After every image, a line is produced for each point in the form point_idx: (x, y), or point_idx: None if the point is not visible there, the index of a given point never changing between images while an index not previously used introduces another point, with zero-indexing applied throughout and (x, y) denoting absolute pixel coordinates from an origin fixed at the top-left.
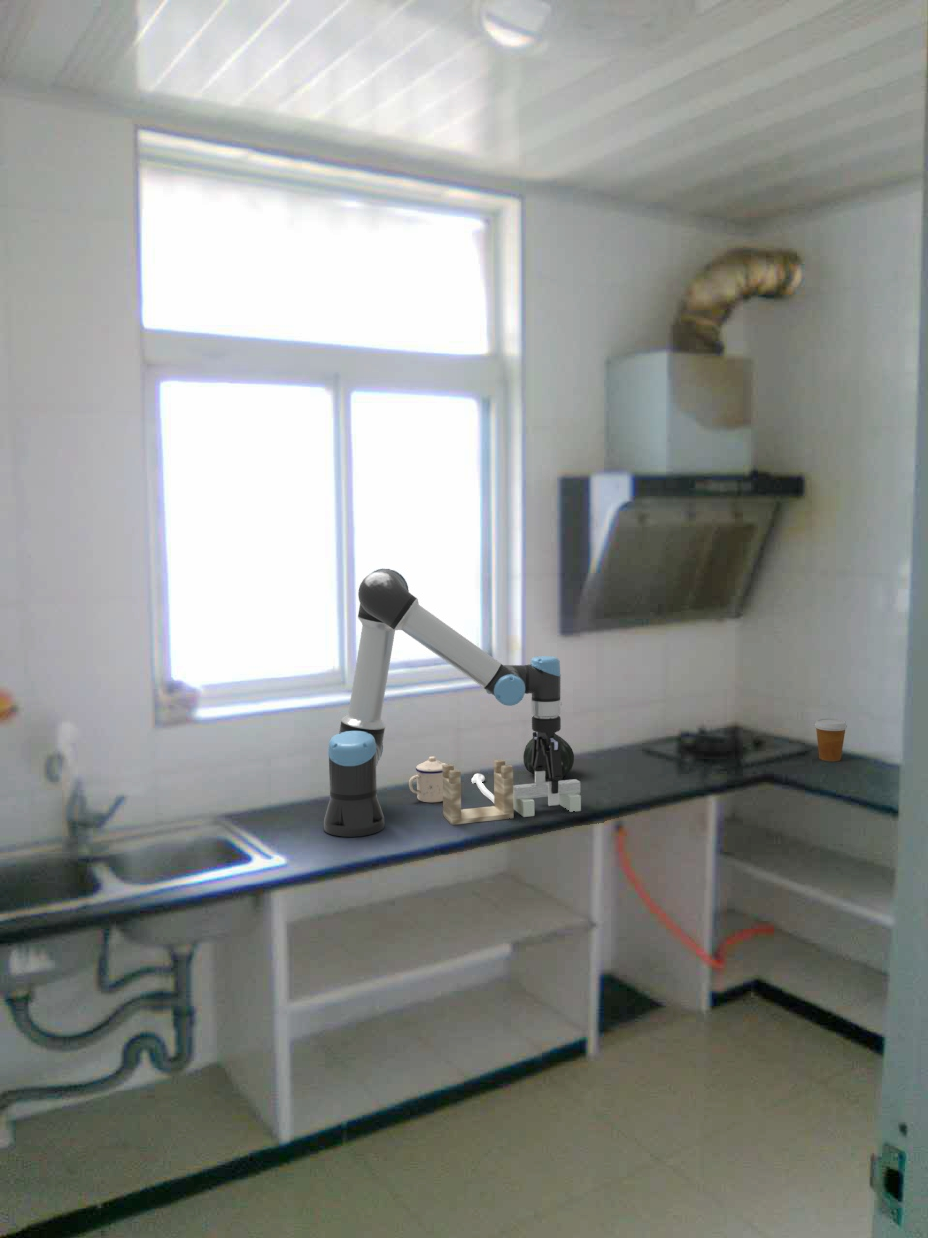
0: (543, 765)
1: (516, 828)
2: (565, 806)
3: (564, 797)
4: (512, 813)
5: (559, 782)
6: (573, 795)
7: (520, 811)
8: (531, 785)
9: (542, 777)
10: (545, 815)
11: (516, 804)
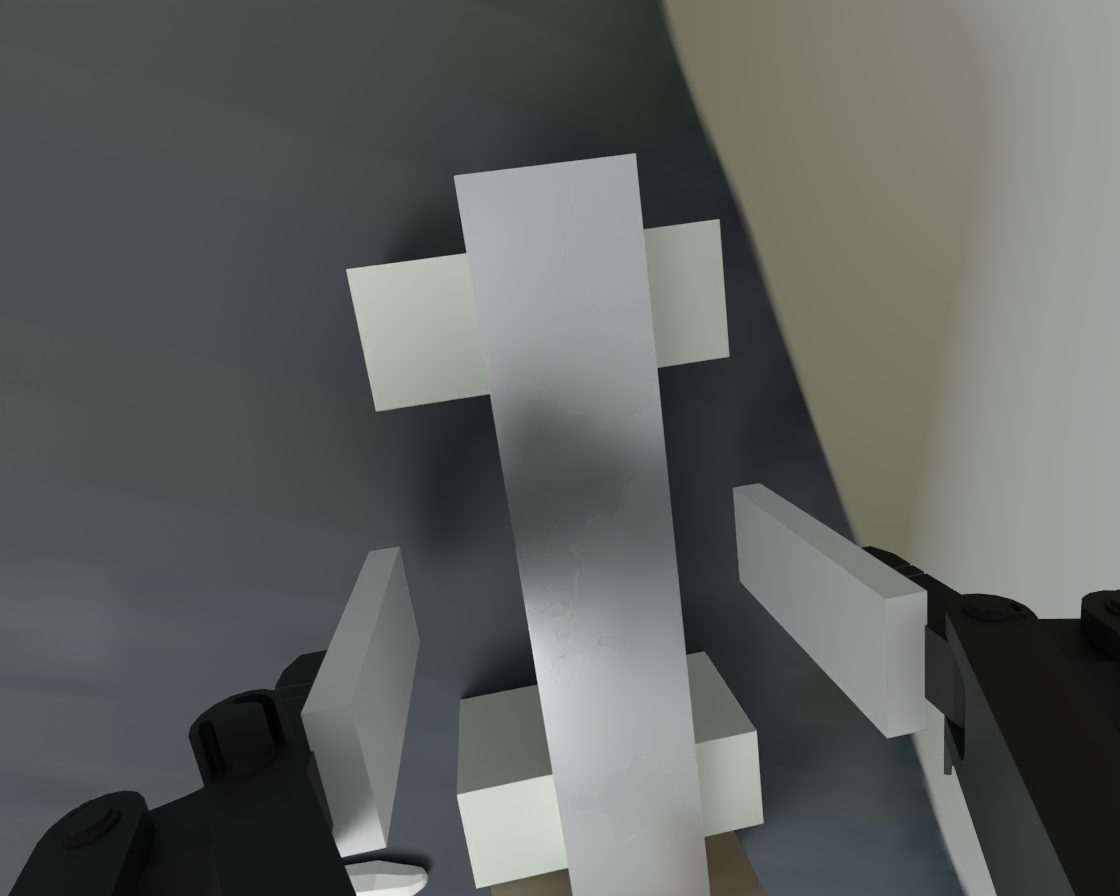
0: (319, 811)
1: (929, 797)
2: None
3: None
4: (732, 833)
5: (589, 477)
6: (680, 302)
7: None
8: (646, 832)
9: (378, 690)
10: (709, 567)
11: None
